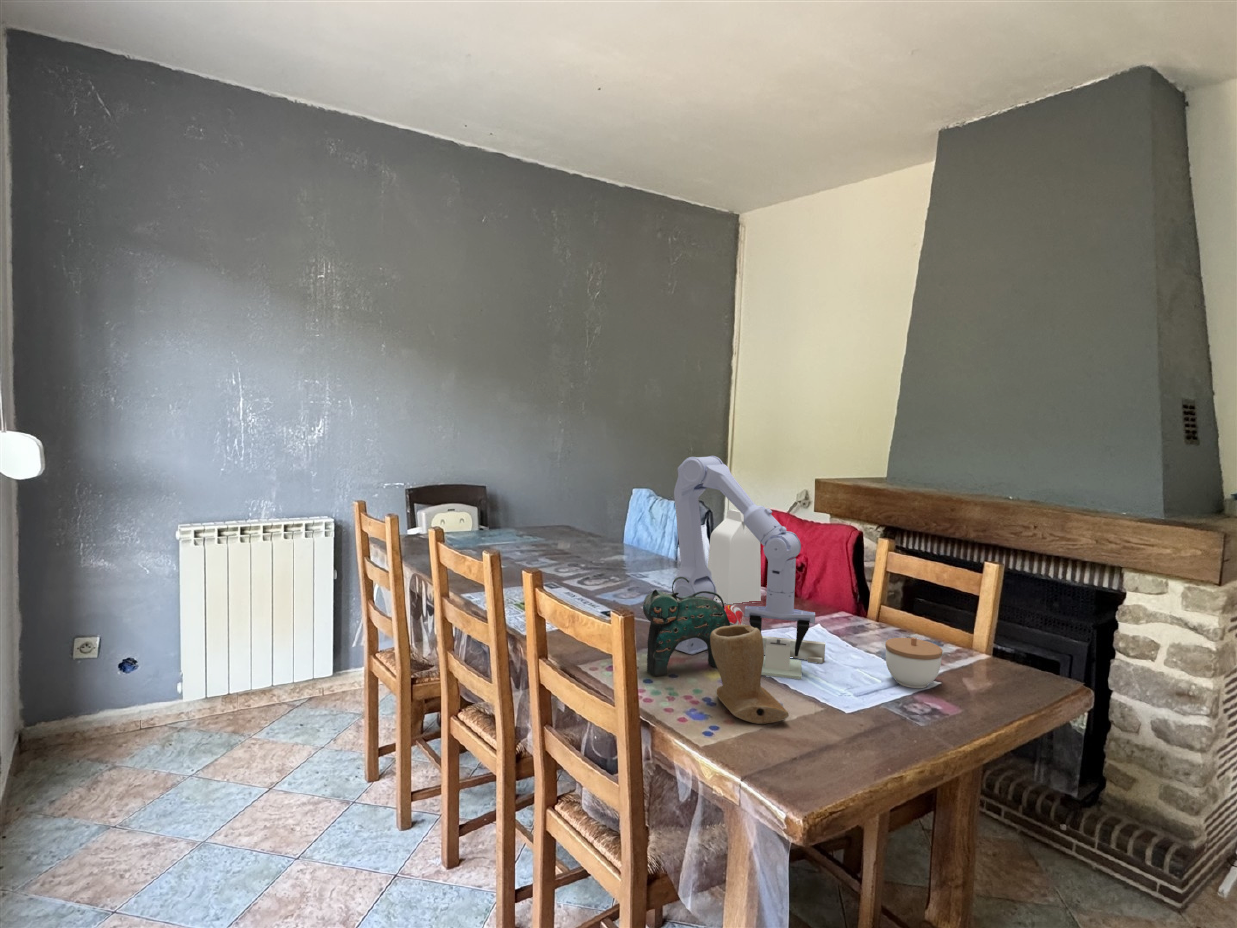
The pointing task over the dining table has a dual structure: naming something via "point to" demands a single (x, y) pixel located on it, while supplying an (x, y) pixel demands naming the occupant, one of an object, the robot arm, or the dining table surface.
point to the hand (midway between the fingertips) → (777, 652)
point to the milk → (735, 560)
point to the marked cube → (777, 654)
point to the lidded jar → (913, 661)
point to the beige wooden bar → (804, 649)
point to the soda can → (734, 615)
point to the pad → (792, 673)
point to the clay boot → (743, 674)
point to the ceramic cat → (679, 624)
